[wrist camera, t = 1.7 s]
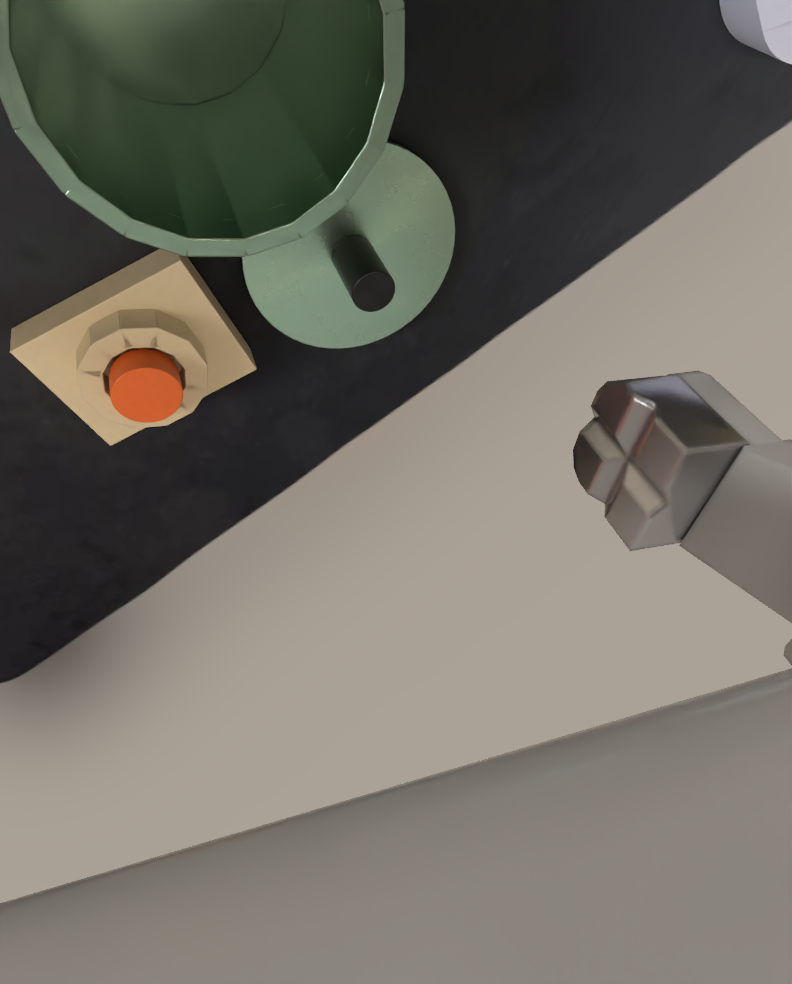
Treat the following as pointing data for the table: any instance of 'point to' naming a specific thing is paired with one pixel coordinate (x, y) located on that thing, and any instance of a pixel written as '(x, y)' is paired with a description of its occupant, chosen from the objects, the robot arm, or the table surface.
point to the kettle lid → (361, 260)
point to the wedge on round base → (761, 25)
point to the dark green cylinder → (204, 111)
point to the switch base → (133, 339)
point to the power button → (145, 385)
